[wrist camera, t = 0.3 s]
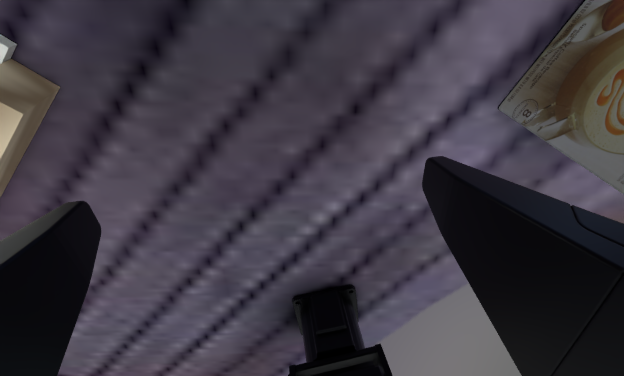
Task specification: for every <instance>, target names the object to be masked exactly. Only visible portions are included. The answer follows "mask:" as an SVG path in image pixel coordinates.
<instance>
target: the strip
mask: <svg viewBox="0 0 624 376" xmlns="http://www.w3.org/2000/svg"><path fill="white" fill-rule="evenodd" d="M59 89H60V87H59V86H57V85H55V84H54V83H52V82H50V81H49V80H47V79H45V78H43V77H42V76H40V75H38V74H37V73H35V72H33V71H31V70H30V69H28V68H26V67H25V66H23V65H21V64H19V63H18V62H16V61H14V60H13V59H10V60H8V61H5V62H3V63H1V64H0V197H1V196H2V194H3V192H4V190H5V188H6V186H7V185H8V183H9V181H10V179H11V177H12V175H13V173H14V172H15V170H16V168H17V166H18V164H19V162H20V161H21V159H22V157H23V155H24V153H25V151H26V150H27V148H28V146H29V144H30V142H31V140H32V138H33V137H34V135H35V133H36V131H37V129H38V127H39V126H40V124H41V122H42V120H43V118H44V116H45V115H46V113H47V111H48V109H49V107H50V105H51V103H52V102H53V100H54V98H55V96H56V94H57V92H58V91H59Z"/></svg>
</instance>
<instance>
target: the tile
mask: <svg viewBox="0 0 624 376" xmlns="http://www.w3.org/2000/svg"><path fill="white" fill-rule="evenodd" d="M16 46H17V44H16V43H14V42H12V41H11V40H9V39H7V38H6V37H4V36H2V35H1V34H0V64H1V63H3V62H5V61H8V60H10V59H11V57H12V55H13V52H14V50H15V48H16Z"/></svg>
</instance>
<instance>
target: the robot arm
mask: <svg viewBox="0 0 624 376" xmlns="http://www.w3.org/2000/svg"><path fill="white" fill-rule="evenodd" d="M422 188H423V191H424V194H425V196H426V199H427V201H428V204H429V206H430V208H431V211H432V213H433V215H434V218H435V220H436V223H437V225H438V227H439V230H440V232H441V234H442V236H443V238H444V240H445V241H446V243H447V245H448V247H449V249H450V250H451V252H452V254H453V256H454V257H455V259H456V261H457V263H458V264H459V266H460V268H461V270H462V271H463V273H464V275H465V277H466V278H467V280H468V282H469V284H470V285H471V287H472V289H473V291H474V293H475V294H476V296H477V298H478V299H479V301H480V303H481V305H482V307H483V308H484V310H485V312H486V314H487V315H488V317H489V319H490V321H491V322H492V324H493V326H494V328H495V329H496V331H497V333H498V335H499V336H500V338H501V340H502V342H503V343H504V345H505V347H506V349H507V351H508V352H509V354H510V356H511V358H512V359H513V361H514V363H515V365H516V366H517V368H518V370H519V372H520V373H521V375H522V376H624V224H623V223H620V222H617V221H615V220H612V219H609V218H606V217H604V216H601V215H598V214H595V213H592V212H590V211H587V210H584V209H582V208H579V207H576V206H574V205H572V206H570V204H568V203H566V202H563V201H560V200H558V199H555V198H552V197H550V196H547V195H544V194H542V193H539V192H536V191H534V190H531V189H528V188H526V187H523V186H521V185H518V184H515V183H513V182H510V181H507V180H505V179H502V178H499V177H497V176H494V175H491V174H489V173H486V172H483V171H481V170H478V169H475V168H473V167H470V166H467V165H465V164H462V163H460V162H457V161H454V160H452V159H449V158H446V157H444V156H438V157H430V158H428V159H427V160H426V163H425V169H424V175H423V181H422ZM100 237H101V226H100V224H99V222H98V220H97V218H96V217H95V215H94V213H93V211H92V209H91V208H90V206H89V204H88V203H87V202H85V201H76V202H68V203H65V204H63V205H62V206H60V207H58V208H56V209H55V210H53V211H51V212H50V213H48V214H46V215H44V216H43V217H41V218H39V219H37V220H36V221H34V222H32V223H31V224H29V225H27V226H25V227H24V228H22V229H20V230H19V231H17V232H15V233H13V234H12V235H10V236H8V237H6V238H5V239H3V240H1V241H0V376H57V374H58V372H59V369H60V366H61V363H62V361H63V358H64V355H65V352H66V349H67V347H68V344H69V341H70V338H71V335H72V333H73V330H74V327H75V324H76V321H77V319H78V316H79V313H80V310H81V308H82V305H83V302H84V299H85V296H86V293H87V290H88V287H89V284H90V280H91V277H92V272H93V268H94V263H95V259H96V255H97V250H98V246H99V241H100ZM293 306H294V310H295V314H296V317H297V321H298V325H299V328H300V332H301V334H302V335H303V339H304V346H305V354H306V361H307V363H303V364H299V365H291V366H289V375H288V376H392V373H391V370H390V368H389V365H388V362H387V360H386V357H385V354H384V352H383V349H382V347H381V344H377V345H375V346H373V347H369V348H365V346H364V342H363V339H362V335H361V332H360V328H359V325H358V311H357V299H356V290H355V287H354V286H352V285H351V286H345V287H341V288H336V289H331V290H326V291H321V292H316V293H311V294H306V295H302V296H297V297H294V298H293Z"/></svg>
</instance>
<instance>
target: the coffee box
mask: <svg viewBox="0 0 624 376" xmlns="http://www.w3.org/2000/svg"><path fill="white" fill-rule="evenodd" d="M499 110H500V111H501V112H503V113H504V114H506V115H507V116H509V117H510V118H512V119H513V120H515V121H516V122H518V123H519V124H521V125H522V126H524V127H525V128H527V129H528V130H529V131H531V132H532V133H534V134H535V135H537V136H538V137H540V138H541V139H543V140H544V141H545V142H547V143H548V144H550V145H551V146H553V147H554V148H556V149H557V150H559V151H560V152H562V153H563V154H565V155H566V156H567V157H569V158H570V159H572V160H573V161H575V162H576V163H578V164H579V165H581V166H582V167H584V168H585V169H587V170H588V171H590V172H591V173H593V174H594V175H596V176H597V177H599V178H600V179H602V180H603V181H605V182H606V183H608V184H609V185H611V186H612V187H613V188H615V189H616V190H618V191H619V192H621V193H622V194H624V0H585V2H584V3H583V4H582V5H581V6H580V8H579V9H578V10H577V11H576V13H575V14H574V15H573V16H572V17H571V19H570V20H569V21H568V22H567V24H566V25H565V26H564V27H563V29H562V30H561V31H560V32H559V34H558V35H557V36H556V37H555V38H554V40H553V41H552V42H551V43H550V45H549V46H548V47H547V48H546V50H545V51H544V52H543V53H542V54H541V56H540V57H539V58H538V59H537V61H536V62H535V63H534V64H533V66H532V67H531V68H530V69H529V70H528V72H527V73H526V74H525V75H524V77H523V78H522V79H521V80H520V82H519V83H518V84H517V85H516V86H515V88H514V89H513V90H512V91H511V93H510V94H509V95H508V96H507V98H506V99H505V100H504V101H503V103H502V104H501V105H500V107H499Z"/></svg>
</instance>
